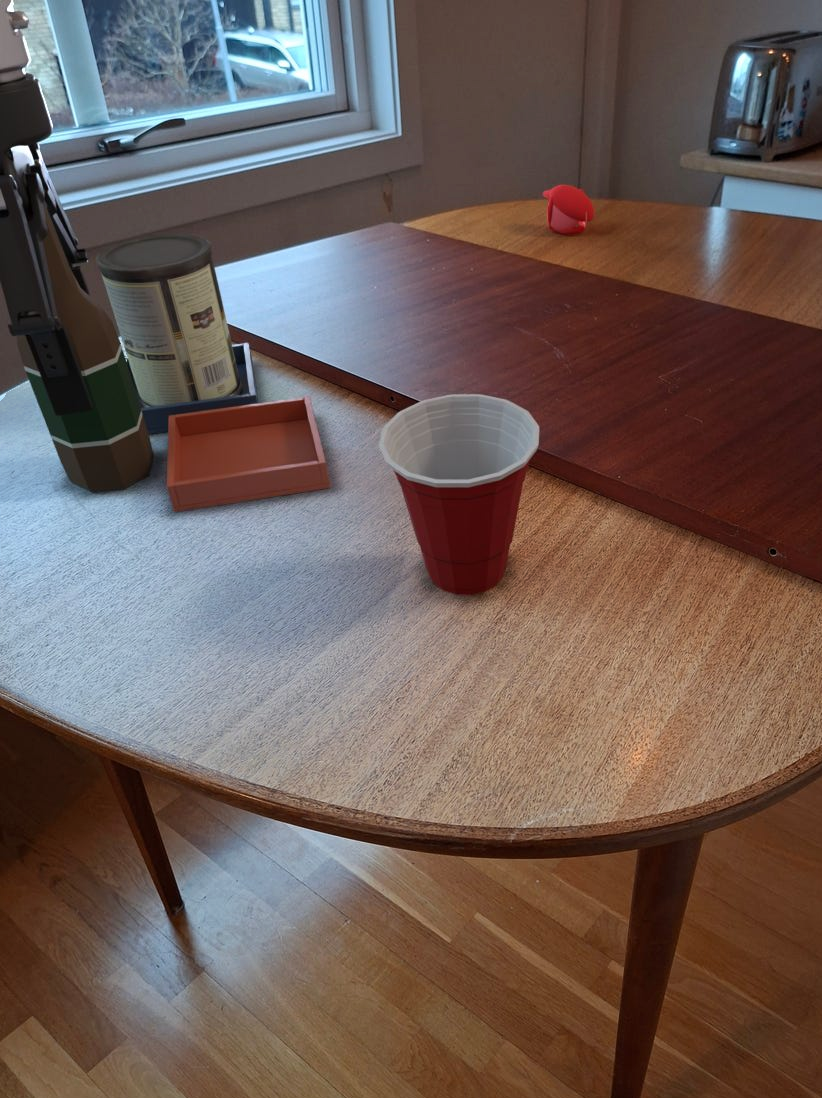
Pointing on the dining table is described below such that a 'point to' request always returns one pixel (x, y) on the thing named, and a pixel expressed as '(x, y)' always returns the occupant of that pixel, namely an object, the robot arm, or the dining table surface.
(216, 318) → the coffee can
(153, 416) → the slate tray
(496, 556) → the plastic cup
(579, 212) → the cap
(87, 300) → the beer bottle
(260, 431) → the terracotta tray
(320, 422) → the dining table surface
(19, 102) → the robot arm
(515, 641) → the dining table surface
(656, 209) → the dining table surface
